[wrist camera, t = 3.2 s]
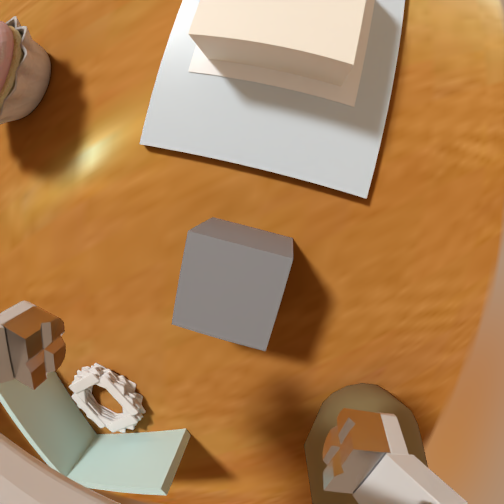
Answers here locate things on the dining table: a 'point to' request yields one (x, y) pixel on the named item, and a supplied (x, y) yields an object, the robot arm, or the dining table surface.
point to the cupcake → (21, 71)
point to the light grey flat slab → (279, 107)
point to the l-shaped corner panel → (85, 438)
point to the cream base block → (282, 34)
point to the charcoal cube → (232, 282)
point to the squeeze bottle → (347, 397)
